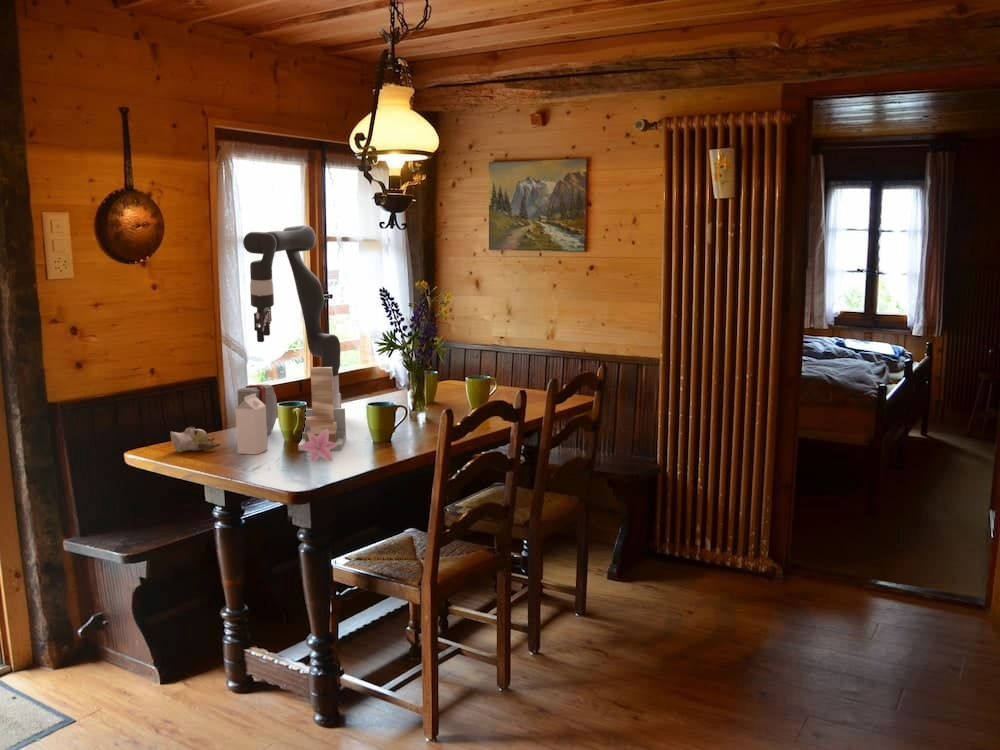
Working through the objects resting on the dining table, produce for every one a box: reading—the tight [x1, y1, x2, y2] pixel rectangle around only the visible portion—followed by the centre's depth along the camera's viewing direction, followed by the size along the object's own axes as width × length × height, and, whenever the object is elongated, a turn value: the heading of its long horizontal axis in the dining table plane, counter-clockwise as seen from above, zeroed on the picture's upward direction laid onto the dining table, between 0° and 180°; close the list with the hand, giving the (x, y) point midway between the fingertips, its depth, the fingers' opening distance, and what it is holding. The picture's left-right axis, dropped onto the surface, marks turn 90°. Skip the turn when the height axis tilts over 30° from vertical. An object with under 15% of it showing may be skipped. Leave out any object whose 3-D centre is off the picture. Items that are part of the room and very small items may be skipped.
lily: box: [299, 429, 337, 463], centre depth 279 cm, size 11×11×9 cm
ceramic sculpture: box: [169, 425, 221, 454], centre depth 291 cm, size 11×9×15 cm
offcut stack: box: [305, 416, 338, 443], centre depth 294 cm, size 6×10×8 cm, turn 94°
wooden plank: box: [310, 366, 334, 421], centre depth 299 cm, size 2×7×24 cm, turn 94°
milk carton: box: [234, 393, 269, 455], centre depth 287 cm, size 7×7×19 cm
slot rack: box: [297, 407, 347, 452], centre depth 296 cm, size 16×14×11 cm
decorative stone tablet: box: [236, 384, 278, 436], centre depth 308 cm, size 19×6×30 cm
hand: (263, 338), depth 299 cm, fingers open, 8 cm apart
